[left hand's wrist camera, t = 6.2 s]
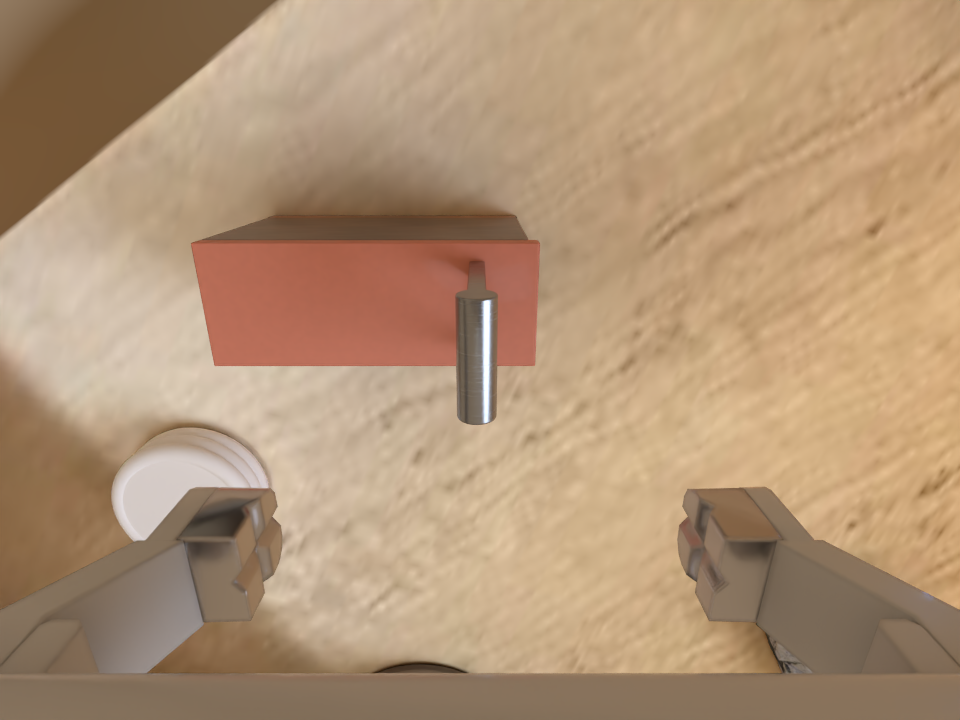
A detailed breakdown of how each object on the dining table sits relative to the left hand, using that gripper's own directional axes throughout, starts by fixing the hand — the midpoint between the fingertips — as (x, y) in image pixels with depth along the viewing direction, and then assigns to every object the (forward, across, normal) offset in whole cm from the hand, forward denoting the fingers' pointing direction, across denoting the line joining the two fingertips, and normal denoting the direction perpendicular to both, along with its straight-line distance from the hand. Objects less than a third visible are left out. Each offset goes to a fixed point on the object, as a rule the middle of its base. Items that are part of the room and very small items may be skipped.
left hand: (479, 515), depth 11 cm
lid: (+16, -5, 0) cm, 17 cm away
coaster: (+26, -21, -17) cm, 37 cm away
